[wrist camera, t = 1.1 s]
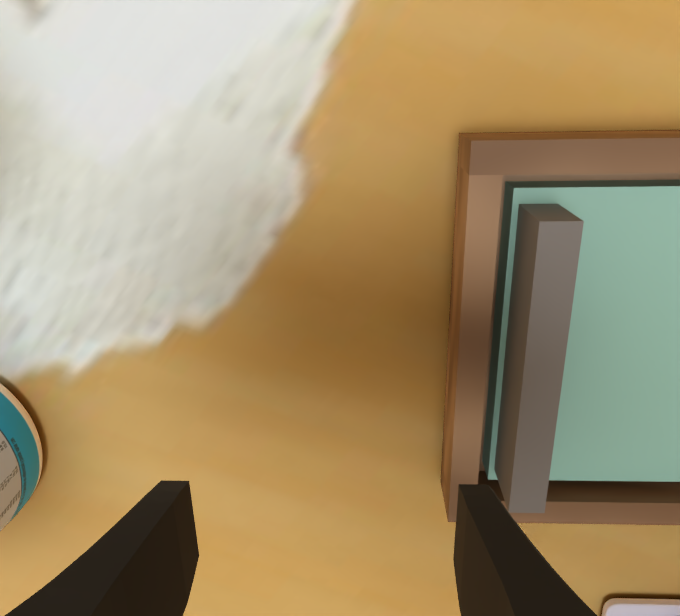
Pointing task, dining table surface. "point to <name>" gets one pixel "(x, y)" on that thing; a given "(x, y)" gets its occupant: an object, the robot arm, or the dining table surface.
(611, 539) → the dining table surface
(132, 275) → the dining table surface
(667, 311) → the cover plate
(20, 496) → the beverage bottle
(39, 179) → the dining table surface
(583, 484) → the walnut box
